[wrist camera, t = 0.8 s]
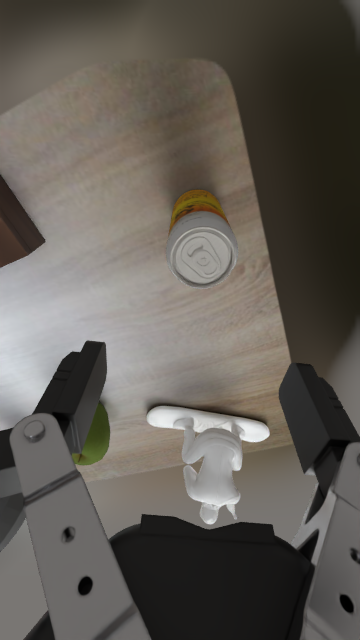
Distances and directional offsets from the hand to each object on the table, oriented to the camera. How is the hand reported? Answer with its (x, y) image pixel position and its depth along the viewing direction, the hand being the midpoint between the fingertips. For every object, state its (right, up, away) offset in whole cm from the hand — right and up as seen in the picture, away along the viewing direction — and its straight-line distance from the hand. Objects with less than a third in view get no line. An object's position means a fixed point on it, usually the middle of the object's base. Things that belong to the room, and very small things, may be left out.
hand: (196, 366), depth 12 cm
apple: (-18, -15, +44) cm, 50 cm away
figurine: (+5, -19, +46) cm, 50 cm away
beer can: (+1, +15, +23) cm, 28 cm away
